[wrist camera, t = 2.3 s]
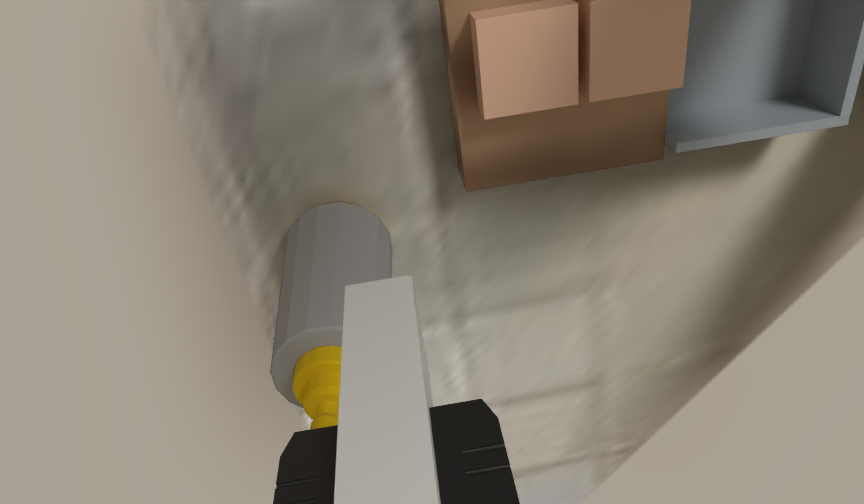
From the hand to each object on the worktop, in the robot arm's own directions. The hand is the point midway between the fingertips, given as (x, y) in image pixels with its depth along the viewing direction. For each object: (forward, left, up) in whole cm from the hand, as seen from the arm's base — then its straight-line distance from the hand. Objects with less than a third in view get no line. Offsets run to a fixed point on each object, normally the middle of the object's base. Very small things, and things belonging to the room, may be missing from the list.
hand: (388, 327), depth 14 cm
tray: (0, +21, -24) cm, 32 cm away
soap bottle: (+11, -4, -24) cm, 27 cm away
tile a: (0, +8, -21) cm, 22 cm away
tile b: (0, +13, -21) cm, 25 cm away
